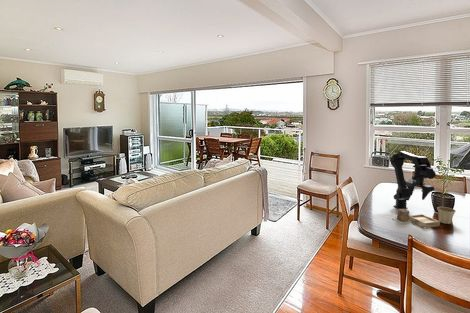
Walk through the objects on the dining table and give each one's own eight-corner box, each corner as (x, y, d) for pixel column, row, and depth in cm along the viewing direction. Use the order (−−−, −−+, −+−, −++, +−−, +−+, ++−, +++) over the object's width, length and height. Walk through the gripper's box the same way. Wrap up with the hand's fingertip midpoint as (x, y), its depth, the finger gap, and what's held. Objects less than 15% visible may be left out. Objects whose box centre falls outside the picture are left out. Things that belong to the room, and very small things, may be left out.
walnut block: (396, 219, 173) (397, 209, 172) (402, 218, 174) (403, 208, 173) (402, 222, 169) (403, 211, 168) (408, 221, 170) (409, 211, 169)
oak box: (408, 220, 173) (408, 215, 172) (421, 218, 175) (422, 214, 174) (424, 228, 161) (425, 223, 161) (439, 226, 163) (439, 221, 163)
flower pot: (435, 217, 176) (437, 205, 174) (454, 221, 170) (455, 208, 168) (435, 222, 168) (436, 209, 167) (454, 226, 163) (456, 213, 161)
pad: (392, 219, 175) (392, 218, 175) (402, 217, 176) (402, 217, 176) (402, 224, 167) (402, 223, 167) (412, 222, 169) (412, 222, 169)
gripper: (397, 172, 182) (395, 194, 185) (421, 179, 164) (419, 203, 167) (411, 171, 184) (408, 193, 187) (436, 178, 166) (433, 201, 169)
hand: (416, 197), depth 177 cm, fingers open, 9 cm apart
